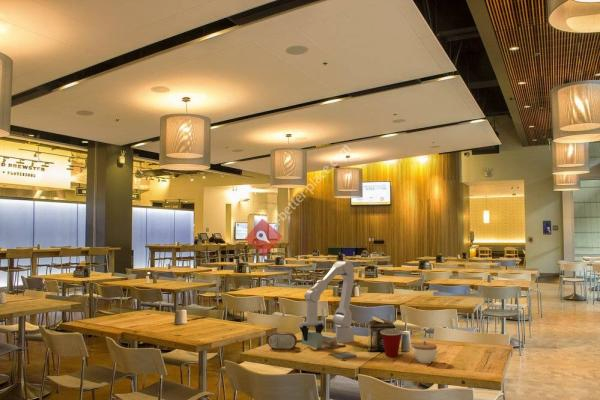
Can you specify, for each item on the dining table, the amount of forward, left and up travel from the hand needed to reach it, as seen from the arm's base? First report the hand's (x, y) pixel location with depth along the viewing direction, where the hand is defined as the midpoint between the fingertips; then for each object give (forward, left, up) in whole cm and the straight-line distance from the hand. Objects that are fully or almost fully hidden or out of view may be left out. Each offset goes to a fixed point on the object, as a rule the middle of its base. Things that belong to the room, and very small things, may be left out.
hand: (311, 340), depth 266 cm
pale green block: (0, 0, -4) cm, 4 cm away
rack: (-5, 0, -4) cm, 6 cm away
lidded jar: (-27, +53, -4) cm, 60 cm away
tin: (+15, -5, -4) cm, 16 cm away
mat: (-2, +20, -4) cm, 20 cm away
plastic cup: (-22, +36, -4) cm, 42 cm away
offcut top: (-10, 0, -1) cm, 10 cm away
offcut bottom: (-10, 0, -3) cm, 10 cm away
